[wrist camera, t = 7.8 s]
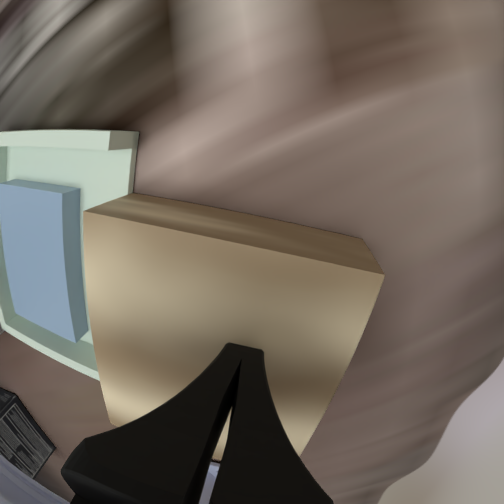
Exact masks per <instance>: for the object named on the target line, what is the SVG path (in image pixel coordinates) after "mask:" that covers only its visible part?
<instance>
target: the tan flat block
mask: <svg viewBox="0 0 504 504" xmlns="http://www.w3.org/2000/svg"><path fill="white" fill-rule="evenodd" d="M83 243H84V265H85V280H86V292H87V302H88V311H89V319H90V326H91V333H92V340H93V346H94V352H95V357H96V363H97V368H98V373H99V378H100V383H101V387H102V392H103V396H104V400H105V404H106V408H107V412H108V416H109V419H110V423H111V424H113V425H115V426H118V427H120V426H122V425H124V424H127V423H129V422H131V421H133V420H135V419H138V418H140V417H142V416H143V415H145V414H147V413H149V412H151V411H152V410H154V409H156V408H157V407H159V406H161V405H162V404H164V403H165V402H167V401H168V400H169V399H171V398H172V397H174V396H175V395H176V394H178V393H179V392H180V391H182V390H183V389H184V388H185V387H186V386H188V385H189V384H190V383H191V382H192V381H193V380H194V379H196V378H197V377H198V376H199V375H200V374H201V373H202V372H203V371H204V370H205V369H206V368H207V367H208V366H209V365H210V363H211V362H212V361H213V360H214V359H215V358H216V357H217V355H218V354H219V353H220V352H221V350H222V349H223V347H224V346H225V344H227V343H229V342H230V343H234V344H239V345H243V346H248V347H252V348H257V349H262V350H263V352H264V362H265V370H266V375H267V380H268V384H269V388H270V392H271V396H272V399H273V402H274V405H275V408H276V411H277V413H278V416H279V419H280V421H281V423H282V426H283V428H284V430H285V432H286V434H287V436H288V438H289V440H290V442H291V444H292V446H293V448H294V449H295V451H296V453H297V454H298V456H300V455H301V453H302V451H303V450H304V448H305V446H306V445H307V443H308V441H309V440H310V438H311V436H312V434H313V433H314V431H315V429H316V427H317V426H318V424H319V422H320V420H321V418H322V417H323V415H324V413H325V411H326V409H327V407H328V405H329V404H330V402H331V400H332V398H333V396H334V394H335V392H336V390H337V388H338V386H339V384H340V382H341V380H342V378H343V376H344V374H345V372H346V369H347V367H348V365H349V363H350V361H351V359H352V357H353V354H354V352H355V350H356V348H357V345H358V343H359V341H360V338H361V336H362V334H363V331H364V329H365V327H366V324H367V322H368V319H369V317H370V314H371V312H372V309H373V307H374V304H375V302H376V299H377V296H378V294H379V291H380V288H381V285H382V283H383V280H384V277H385V274H384V272H383V271H382V269H381V268H380V266H379V264H378V263H377V261H376V260H375V258H374V257H373V255H372V253H371V252H370V250H369V249H368V247H367V246H366V244H365V243H364V241H363V240H362V239H360V238H355V237H351V236H347V235H342V234H338V233H334V232H329V231H325V230H321V229H316V228H312V227H307V226H303V225H298V224H293V223H289V222H284V221H279V220H275V219H270V218H265V217H260V216H255V215H250V214H245V213H240V212H235V211H230V210H225V209H220V208H215V207H210V206H204V205H199V204H194V203H188V202H183V201H177V200H172V199H166V198H160V197H155V196H149V195H143V194H137V193H131V194H128V195H125V196H122V197H119V198H117V199H114V200H111V201H108V202H106V203H103V204H100V205H98V206H95V207H92V208H90V209H87V210H85V211H83ZM231 409H232V408H231ZM230 416H231V410H230V413H229V415H228V418H227V421H226V423H225V426H224V428H223V431H222V433H221V436H220V438H219V441H218V443H217V446H216V449H215V451H214V454H213V457H212V458H214V459H218V460H221V459H222V456H223V452H224V449H225V445H226V441H227V436H228V429H229V423H230Z"/></svg>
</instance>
